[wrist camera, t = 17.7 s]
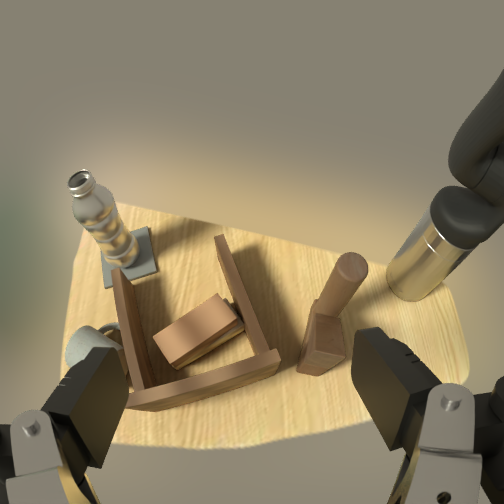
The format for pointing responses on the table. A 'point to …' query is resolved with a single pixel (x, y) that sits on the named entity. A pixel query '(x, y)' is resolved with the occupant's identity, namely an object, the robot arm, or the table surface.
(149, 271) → the slate mat
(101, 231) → the silver bottle
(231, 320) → the tan rectangular block
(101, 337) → the ceramic mug
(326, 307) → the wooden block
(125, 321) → the walnut rack
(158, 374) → the table surface
